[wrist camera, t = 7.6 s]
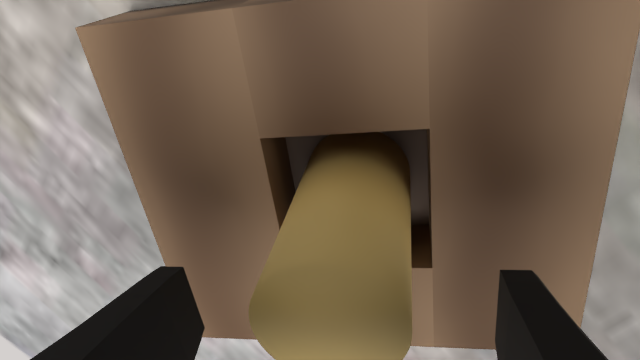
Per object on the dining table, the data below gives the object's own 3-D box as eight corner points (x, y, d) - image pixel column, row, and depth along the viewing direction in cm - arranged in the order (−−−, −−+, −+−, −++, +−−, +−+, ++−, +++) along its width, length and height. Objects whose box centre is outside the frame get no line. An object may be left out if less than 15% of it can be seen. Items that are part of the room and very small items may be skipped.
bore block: (603, -51, 12) (654, -45, 9) (551, 293, 17) (575, 352, 15) (129, 11, 15) (75, 27, 12) (217, 288, 20) (192, 336, 18)
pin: (409, 125, 14) (412, 265, 8) (410, 217, 16) (413, 388, 10) (302, 129, 15) (234, 260, 9) (314, 217, 17) (262, 376, 11)
